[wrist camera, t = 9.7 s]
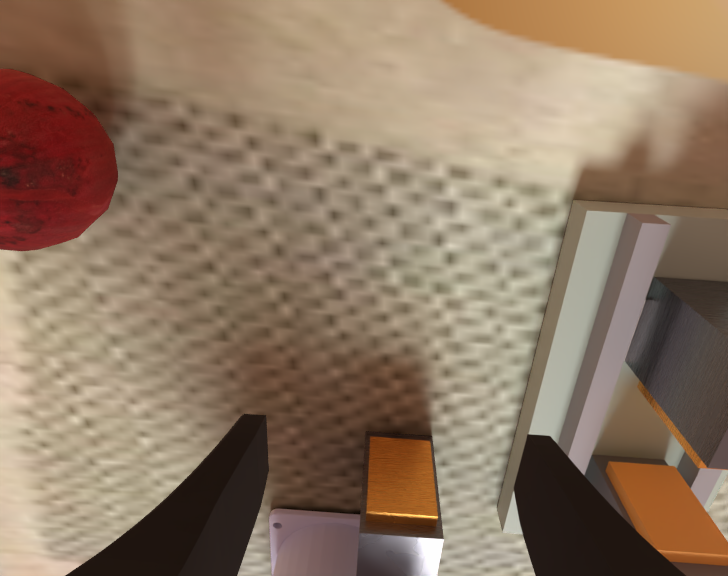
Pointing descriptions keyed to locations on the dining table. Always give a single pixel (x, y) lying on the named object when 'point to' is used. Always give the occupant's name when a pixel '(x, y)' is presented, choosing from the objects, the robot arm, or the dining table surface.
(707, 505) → the rail
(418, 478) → the block
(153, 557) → the robot arm
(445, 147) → the dining table surface
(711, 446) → the brushed grey cube
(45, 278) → the dining table surface
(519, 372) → the dining table surface
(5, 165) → the onion
